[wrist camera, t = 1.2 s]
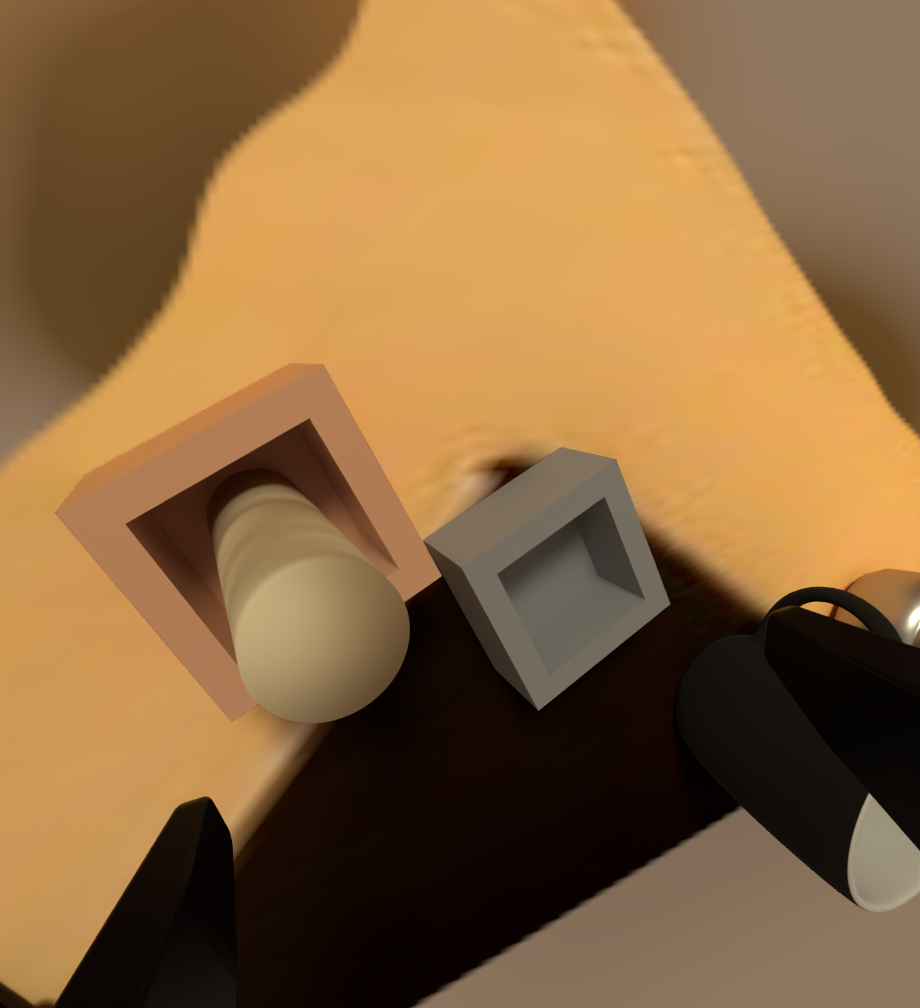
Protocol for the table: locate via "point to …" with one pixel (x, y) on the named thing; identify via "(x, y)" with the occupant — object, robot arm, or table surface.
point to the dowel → (302, 602)
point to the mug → (794, 764)
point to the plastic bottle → (890, 601)
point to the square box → (184, 503)
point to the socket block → (551, 571)
